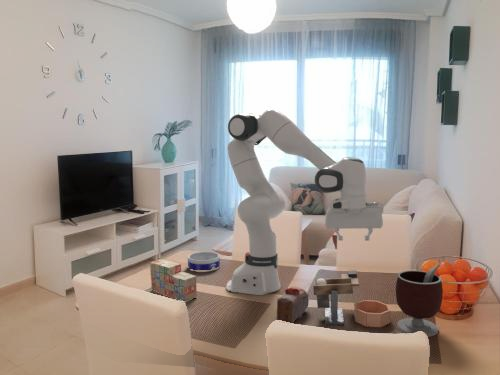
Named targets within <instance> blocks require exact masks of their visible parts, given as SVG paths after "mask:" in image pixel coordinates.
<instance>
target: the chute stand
mask: <svg viewBox="0 0 500 375" xmlns="http://www.w3.org/2000/svg"><path fill="white" fill-rule="evenodd" d="M338 295H339V294H338V290H333V289H331V294H330V308H324V323H325V325H332V324H339V325H338V326H344V325H345V322H344V321H345V320H344V313H343V312H344V311H343V308H338V306H339V304H338V303H339V299H338V297H339V296H338Z"/></svg>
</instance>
